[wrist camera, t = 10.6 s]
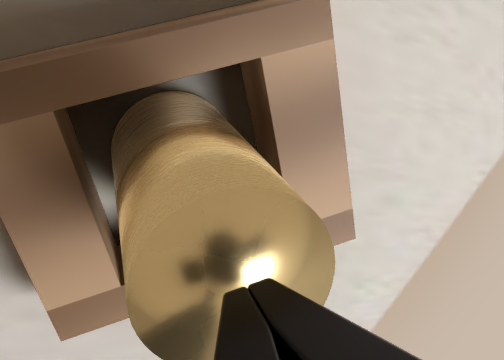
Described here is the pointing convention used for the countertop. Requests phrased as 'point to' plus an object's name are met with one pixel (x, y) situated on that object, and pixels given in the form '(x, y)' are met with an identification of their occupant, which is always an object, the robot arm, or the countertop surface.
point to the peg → (204, 223)
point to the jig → (144, 75)
